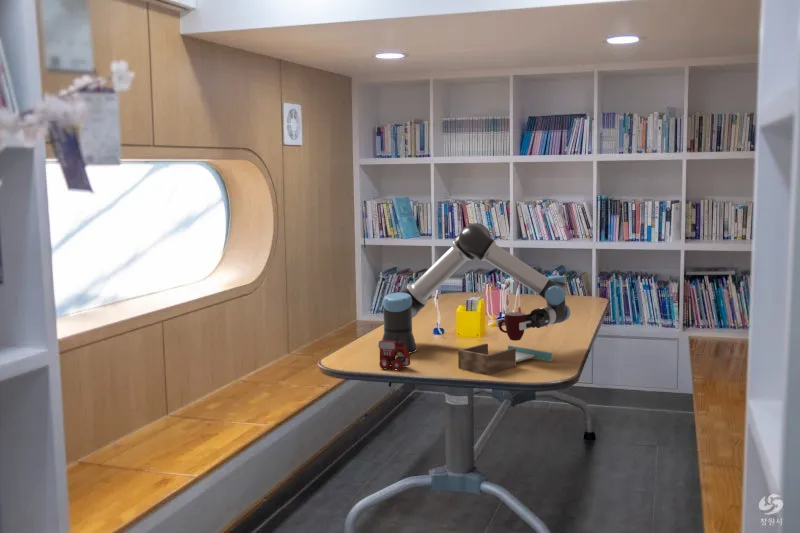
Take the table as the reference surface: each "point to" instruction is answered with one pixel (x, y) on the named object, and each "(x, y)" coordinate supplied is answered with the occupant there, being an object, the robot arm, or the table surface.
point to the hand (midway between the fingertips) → (508, 325)
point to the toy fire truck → (393, 354)
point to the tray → (530, 354)
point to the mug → (513, 325)
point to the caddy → (486, 359)
